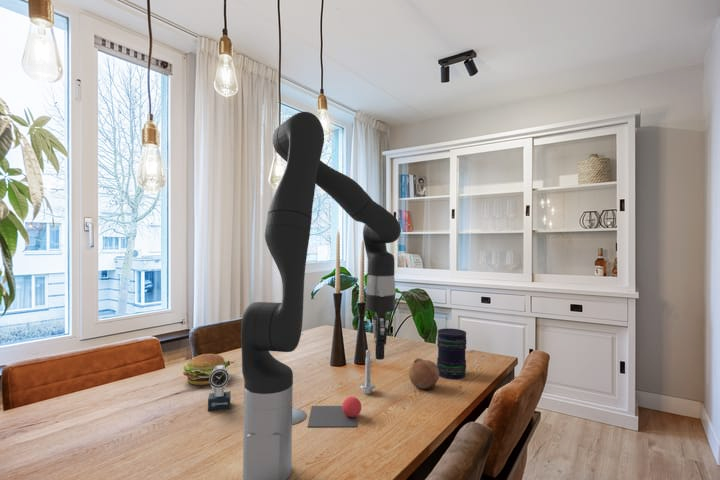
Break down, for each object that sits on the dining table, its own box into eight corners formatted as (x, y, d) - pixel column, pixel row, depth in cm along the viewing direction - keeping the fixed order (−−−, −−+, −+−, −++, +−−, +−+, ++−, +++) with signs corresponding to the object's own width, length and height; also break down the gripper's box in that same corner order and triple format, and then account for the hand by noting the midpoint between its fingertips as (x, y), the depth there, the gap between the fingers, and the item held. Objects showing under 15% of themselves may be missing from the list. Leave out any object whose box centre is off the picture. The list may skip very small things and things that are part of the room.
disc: (303, 425, 96) (303, 424, 96) (263, 425, 96) (263, 424, 96) (307, 408, 106) (307, 407, 106) (270, 408, 106) (270, 407, 106)
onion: (411, 395, 123) (398, 365, 126) (434, 383, 128) (421, 354, 130) (426, 395, 115) (412, 362, 117) (450, 382, 119) (436, 350, 122)
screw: (356, 393, 117) (364, 388, 121) (370, 396, 114) (378, 391, 119) (357, 350, 117) (365, 346, 121) (371, 352, 114) (379, 348, 119)
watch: (207, 414, 101) (207, 372, 102) (210, 402, 109) (210, 362, 109) (229, 412, 103) (230, 370, 103) (231, 400, 111) (231, 361, 111)
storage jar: (472, 377, 132) (472, 333, 132) (447, 381, 128) (448, 335, 129) (454, 368, 141) (455, 327, 141) (431, 371, 138) (431, 329, 138)
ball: (341, 408, 98) (344, 423, 100) (361, 403, 98) (363, 419, 100) (339, 394, 103) (342, 409, 104) (358, 390, 103) (361, 405, 105)
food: (173, 386, 121) (173, 360, 121) (198, 371, 135) (198, 348, 135) (214, 389, 119) (215, 363, 119) (235, 374, 133) (236, 350, 133)
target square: (356, 427, 96) (356, 426, 96) (307, 427, 95) (307, 426, 95) (355, 406, 108) (355, 405, 108) (311, 406, 107) (311, 405, 107)
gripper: (365, 289, 109) (364, 351, 108) (367, 295, 95) (366, 366, 95) (391, 289, 109) (391, 351, 109) (398, 296, 96) (397, 366, 95)
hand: (379, 358), depth 102 cm, fingers closed
